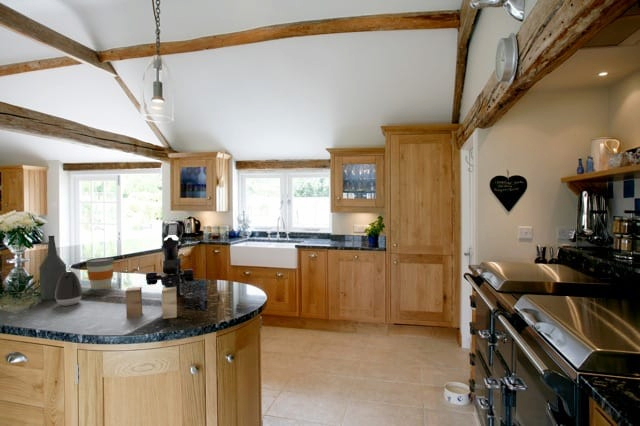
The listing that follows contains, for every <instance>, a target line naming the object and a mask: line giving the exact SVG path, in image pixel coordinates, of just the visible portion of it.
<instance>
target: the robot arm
mask: <svg viewBox="0 0 640 426" xmlns="http://www.w3.org/2000/svg"><path fill="white" fill-rule="evenodd" d="M164 231H165V232H164V234H165V236H166V237H165V238H164V240H163V242H162V243H161V246H160V247H161V250H162V252H163V255H164V257H163V263H162V264H163V265H162V273H161V274H158V273H157V271H154V272H153V271H149V272H147V273H145V281H146V284H147V285H148V286H152V285H156V284H158V281H160V282H161V286H164V288H170V287H176V296H177V298H178V297H181V296H184V293H182V290H181V289H182V288H181V284H184V283H185V282H186V283H188V282H194V281H195V271H194V269H192V268H191V269H184V270H182V259H181V257H179V253H180V250H181V249H182V247H183V244H182V242H181V240H182V236H183V234H184V226H183V225H182V224H180V223H179V222H168V223H167V225H165V226H164Z"/></svg>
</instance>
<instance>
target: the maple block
mask: <svg viewBox="0 0 640 426" xmlns="http://www.w3.org/2000/svg"><path fill="white" fill-rule="evenodd" d="M177 298H178V297H177V296H176V287H170V288H166V287H163V288H162V290H161V306H162V308H161V309H162V319H163V320H164V319H173V318H177V317H178V306H177V305H178V304H177V303H178V301H177Z"/></svg>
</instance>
